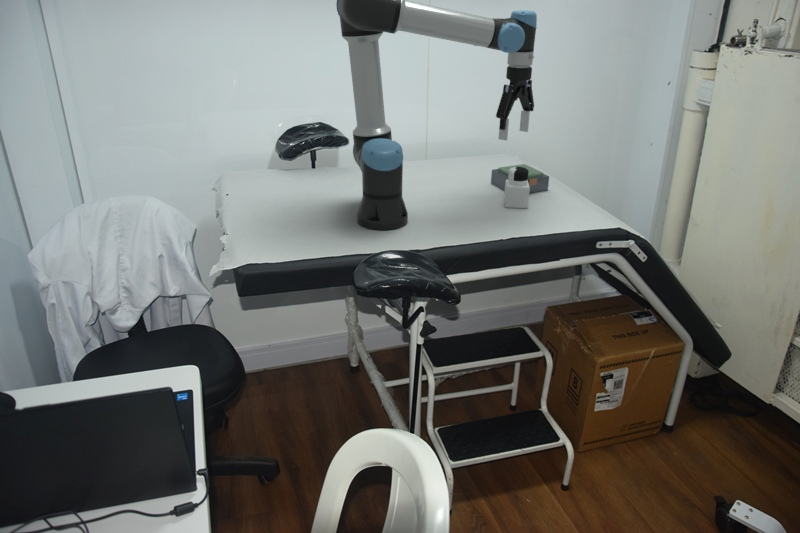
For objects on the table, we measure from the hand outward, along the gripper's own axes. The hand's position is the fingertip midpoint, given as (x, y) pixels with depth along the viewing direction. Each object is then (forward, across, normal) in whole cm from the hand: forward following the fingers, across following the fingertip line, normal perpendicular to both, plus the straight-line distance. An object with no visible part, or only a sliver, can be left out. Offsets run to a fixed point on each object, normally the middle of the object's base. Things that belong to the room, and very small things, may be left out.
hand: (513, 135), depth 195 cm
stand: (+21, +11, +2) cm, 24 cm away
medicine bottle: (+21, -5, -5) cm, 22 cm away
